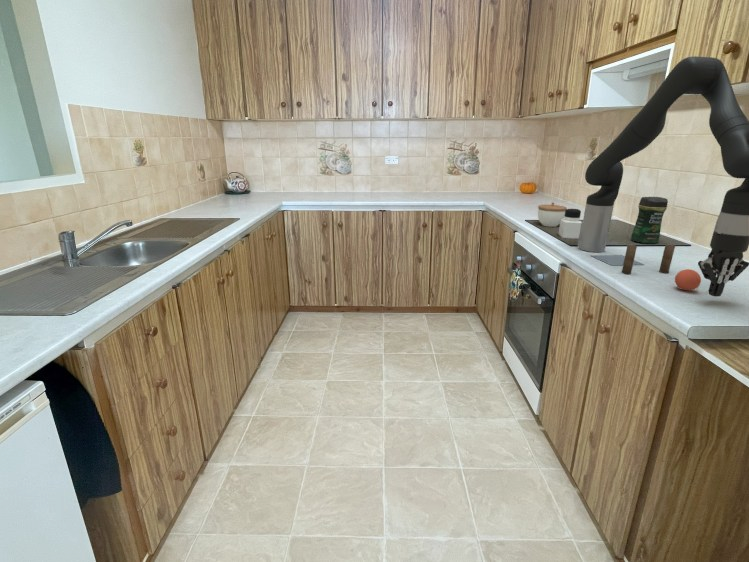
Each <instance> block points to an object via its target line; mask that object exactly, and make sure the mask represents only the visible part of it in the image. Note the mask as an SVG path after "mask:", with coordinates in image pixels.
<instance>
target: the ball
mask: <svg viewBox="0 0 749 562" xmlns="http://www.w3.org/2000/svg"><path fill="white" fill-rule="evenodd" d="M701 282H702V277H701V275H700V274H699V273H698V271H696V270H694V269H689V268H688V269H687V268H686V269H682V270H680V271H679V272H677V273H676V274H675V277H674V283H675V285H676V286H677V288H679V289H680V290H682V291H683V290H684V291H693V290H695V289H697V288H698V287H699V286H700V285H701Z"/></svg>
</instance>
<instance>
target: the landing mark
mask: <svg viewBox="0 0 749 562" xmlns="http://www.w3.org/2000/svg"><path fill="white" fill-rule="evenodd" d="M590 257H592V258H594V259H597V260H599V261H601V262H604V263H606V264H607V265H609V266H611V265H612V267H613V265H619V266H623V263H624V259H625V255H623V254H607V255H606V254H605V255H602V254H597V255H590ZM633 266H645V263H643V262H640V261H638V260H635V259H634V262H633Z"/></svg>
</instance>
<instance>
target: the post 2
mask: <svg viewBox="0 0 749 562" xmlns="http://www.w3.org/2000/svg"><path fill="white" fill-rule="evenodd" d="M675 248H676V245H675V244H671V243H666V244H665V246H664V250H663V253H662V258H661V262H660V266H659V270H658V272H659V273H662V274H669V272H670V269H671V265H672V261H673V256H674V252H675Z"/></svg>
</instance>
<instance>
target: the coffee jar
mask: <svg viewBox="0 0 749 562" xmlns="http://www.w3.org/2000/svg"><path fill="white" fill-rule="evenodd" d="M668 202H669V201H668V198H665V197H661V196H642V197H641V198H640V201H639V203H638V214H637V218H636V221H635V224H634V227H633V230H632V233H631V236H630V239H631V241H633V242H634V241H636V242H635V243H639V242H642V243H641V244H647V243H648V244H652V243H653V244H656V243H655V242H658V243H659V242H660V241H659V240H660V237H661V236H660V235H661V230H662V222H663V217H664V214H665V211H667V208H668Z"/></svg>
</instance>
